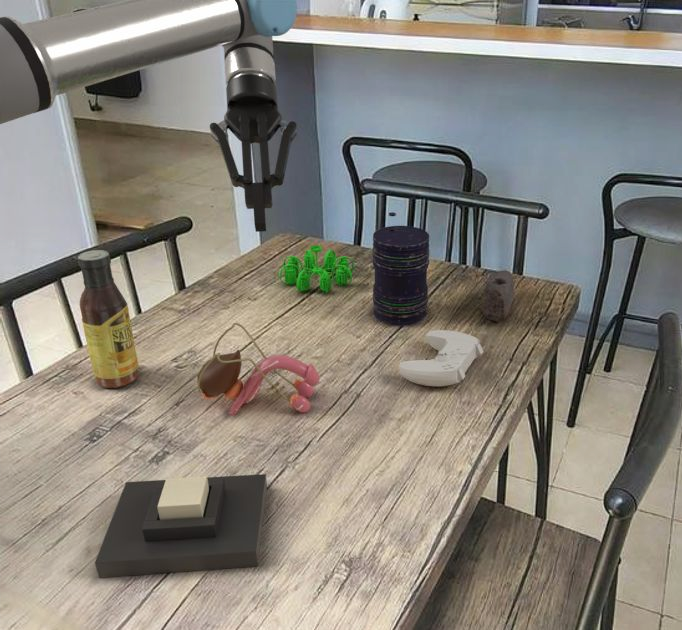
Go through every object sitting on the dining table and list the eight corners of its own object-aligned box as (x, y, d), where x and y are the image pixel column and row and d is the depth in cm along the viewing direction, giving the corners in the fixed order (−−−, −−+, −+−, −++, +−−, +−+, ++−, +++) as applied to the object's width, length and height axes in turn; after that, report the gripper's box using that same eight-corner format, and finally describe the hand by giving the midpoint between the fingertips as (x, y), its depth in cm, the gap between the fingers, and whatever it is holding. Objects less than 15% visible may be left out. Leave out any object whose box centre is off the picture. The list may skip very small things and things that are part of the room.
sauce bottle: (131, 391, 99) (104, 265, 90) (88, 390, 99) (57, 264, 90) (147, 367, 105) (124, 247, 96) (107, 366, 105) (80, 246, 96)
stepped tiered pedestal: (98, 578, 70) (90, 549, 68) (129, 496, 80) (122, 469, 78) (258, 566, 71) (254, 538, 70) (267, 487, 82) (264, 461, 80)
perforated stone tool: (492, 290, 132) (494, 257, 129) (519, 294, 131) (522, 261, 128) (475, 325, 119) (478, 289, 116) (505, 330, 118) (509, 294, 115)
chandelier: (334, 303, 126) (332, 268, 123) (264, 288, 130) (260, 255, 127) (368, 272, 138) (367, 240, 135) (303, 260, 143) (301, 229, 140)
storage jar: (438, 317, 122) (442, 222, 113) (391, 331, 117) (392, 233, 108) (407, 296, 129) (409, 205, 121) (362, 309, 124) (361, 214, 116)
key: (160, 521, 72) (157, 506, 71) (168, 492, 76) (166, 478, 75) (202, 518, 72) (200, 504, 72) (209, 489, 76) (207, 475, 75)
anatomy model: (329, 405, 91) (246, 332, 86) (259, 458, 96) (175, 391, 90) (336, 365, 100) (262, 296, 95) (272, 415, 105) (197, 351, 99)
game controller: (429, 323, 113) (486, 324, 109) (433, 347, 115) (489, 349, 110) (391, 365, 101) (453, 368, 97) (397, 390, 103) (458, 395, 99)
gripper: (294, 101, 109) (306, 235, 103) (210, 102, 107) (216, 240, 100) (294, 71, 102) (306, 214, 96) (203, 71, 100) (210, 218, 93)
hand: (260, 227), depth 98 cm, fingers closed
